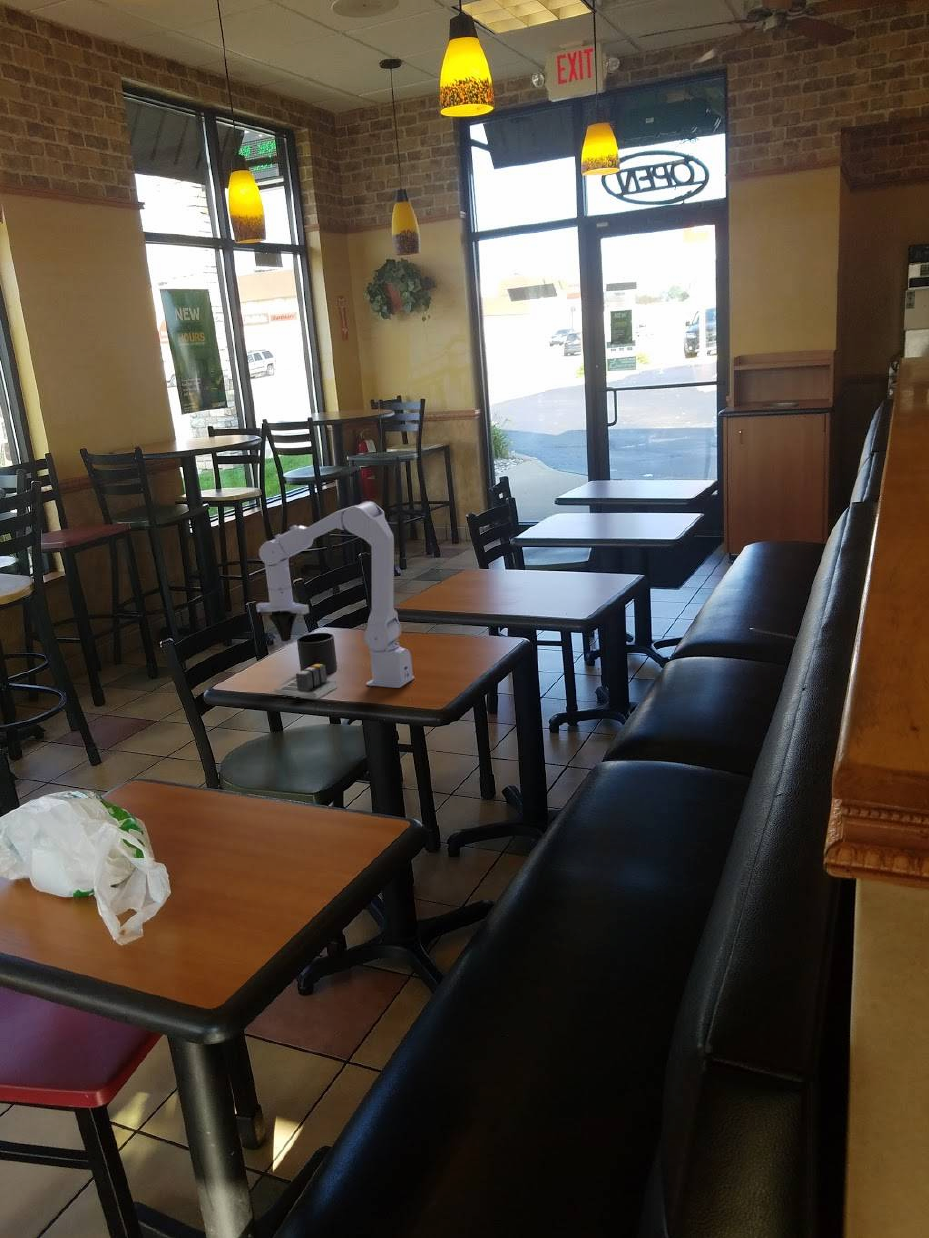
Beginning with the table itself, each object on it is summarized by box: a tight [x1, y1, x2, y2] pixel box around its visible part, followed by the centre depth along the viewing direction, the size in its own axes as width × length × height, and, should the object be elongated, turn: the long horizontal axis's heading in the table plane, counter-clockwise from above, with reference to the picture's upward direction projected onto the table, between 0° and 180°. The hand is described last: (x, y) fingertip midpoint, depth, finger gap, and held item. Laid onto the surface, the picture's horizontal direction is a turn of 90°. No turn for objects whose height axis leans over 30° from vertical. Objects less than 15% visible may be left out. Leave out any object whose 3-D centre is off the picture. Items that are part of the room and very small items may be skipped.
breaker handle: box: [311, 664, 328, 683], centre depth 233 cm, size 3×2×4 cm
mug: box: [296, 632, 338, 676], centre depth 249 cm, size 9×12×9 cm
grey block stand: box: [274, 667, 338, 700], centre depth 232 cm, size 12×9×6 cm
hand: (286, 640), depth 241 cm, fingers closed
